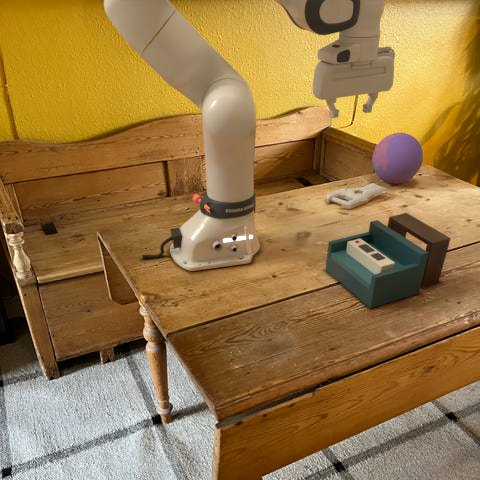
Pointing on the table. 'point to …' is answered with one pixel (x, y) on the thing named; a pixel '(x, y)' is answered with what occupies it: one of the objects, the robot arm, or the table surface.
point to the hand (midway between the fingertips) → (350, 114)
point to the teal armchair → (386, 283)
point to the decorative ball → (397, 158)
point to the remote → (369, 256)
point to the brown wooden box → (429, 236)
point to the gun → (355, 195)
